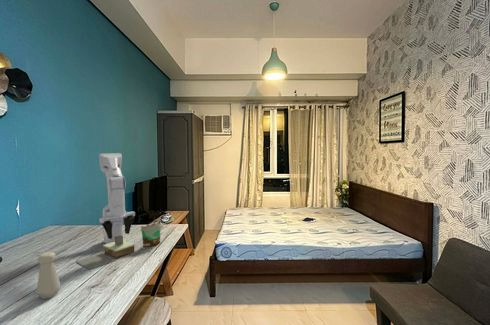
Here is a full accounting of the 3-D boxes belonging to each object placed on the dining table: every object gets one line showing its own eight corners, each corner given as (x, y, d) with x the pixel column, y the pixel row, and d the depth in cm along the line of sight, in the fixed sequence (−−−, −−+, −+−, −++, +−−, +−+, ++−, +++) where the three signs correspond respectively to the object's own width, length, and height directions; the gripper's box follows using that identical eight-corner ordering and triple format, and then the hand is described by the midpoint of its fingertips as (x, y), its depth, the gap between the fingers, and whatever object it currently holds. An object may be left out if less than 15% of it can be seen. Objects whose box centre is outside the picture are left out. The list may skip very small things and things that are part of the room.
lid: (103, 246, 112) (102, 237, 111) (122, 240, 119) (122, 231, 118) (115, 251, 105) (115, 241, 105) (135, 245, 112) (134, 235, 112)
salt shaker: (45, 290, 82) (43, 250, 81) (64, 289, 82) (62, 249, 82) (32, 301, 76) (29, 258, 75) (52, 300, 76) (50, 257, 76)
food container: (153, 249, 115) (153, 227, 115) (141, 248, 116) (140, 226, 116) (167, 239, 127) (166, 219, 127) (156, 239, 129) (155, 219, 128)
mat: (76, 262, 103) (76, 261, 103) (102, 253, 111) (102, 253, 111) (89, 269, 96) (89, 269, 96) (116, 260, 104) (116, 259, 104)
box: (104, 253, 112) (104, 246, 112) (122, 247, 118) (122, 240, 118) (116, 258, 106) (116, 251, 106) (134, 252, 112) (134, 245, 112)
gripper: (104, 208, 103) (106, 242, 104) (138, 202, 115) (139, 232, 115) (96, 207, 107) (97, 239, 108) (129, 201, 119) (130, 230, 119)
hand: (118, 235), depth 112 cm, fingers open, 7 cm apart
